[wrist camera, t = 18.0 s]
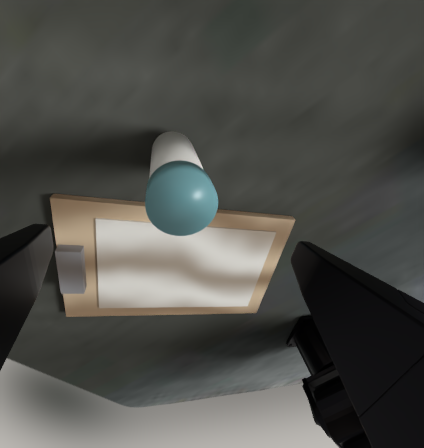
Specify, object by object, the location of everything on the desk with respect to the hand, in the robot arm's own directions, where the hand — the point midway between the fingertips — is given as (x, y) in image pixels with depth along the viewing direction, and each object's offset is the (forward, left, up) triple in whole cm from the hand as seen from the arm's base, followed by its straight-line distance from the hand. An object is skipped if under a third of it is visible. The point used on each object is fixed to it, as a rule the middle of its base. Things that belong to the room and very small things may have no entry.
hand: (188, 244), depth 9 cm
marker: (0, 0, -13) cm, 13 cm away
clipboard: (-12, -2, -13) cm, 18 cm away
